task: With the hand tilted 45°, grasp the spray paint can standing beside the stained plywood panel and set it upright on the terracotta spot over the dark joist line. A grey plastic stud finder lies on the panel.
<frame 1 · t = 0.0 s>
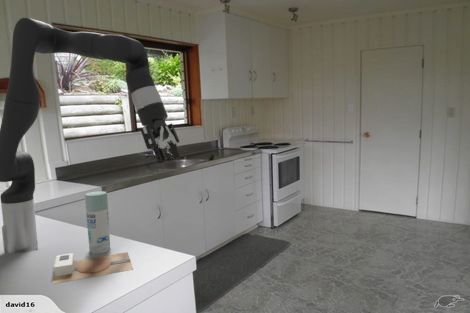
hand: (170, 160, 98), 31 cm above the worktop, tool tilted 20°, fingers open, 8 cm apart
spray paint can: (100, 254, 114), on the worktop
plywood panel: (94, 271, 102), on the worktop
stud finder: (64, 268, 100), point 1 cm above the worktop, touching plywood panel
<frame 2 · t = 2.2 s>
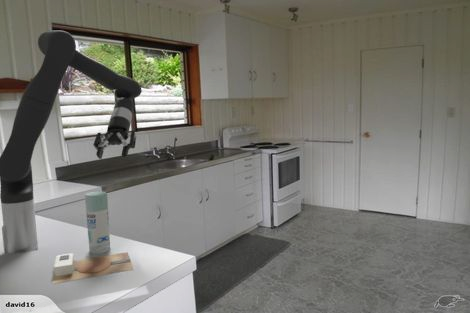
hand: (111, 157, 123), 30 cm above the worktop, tool tilted 45°, fingers open, 8 cm apart
nothing on the worktop moved.
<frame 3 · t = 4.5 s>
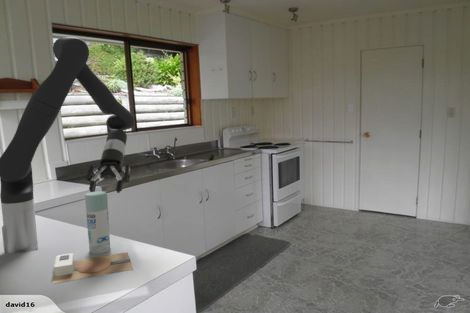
hand: (105, 192, 119), 19 cm above the worktop, tool tilted 45°, fingers open, 8 cm apart
nothing on the worktop moved.
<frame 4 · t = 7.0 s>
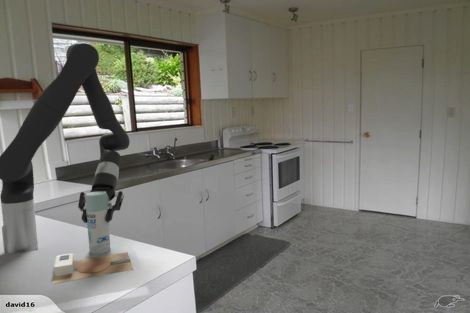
hand: (96, 221, 111), 11 cm above the worktop, tool tilted 45°, fingers closed on spray paint can, 6 cm apart
spray paint can: (100, 254, 114), on the worktop, touching gripper
everything else where it was.
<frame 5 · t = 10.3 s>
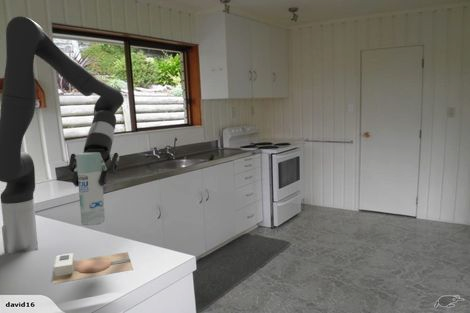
hand: (88, 184, 100), 25 cm above the worktop, tool tilted 45°, fingers closed on spray paint can, 6 cm apart
spray paint can: (93, 222, 103), point 14 cm above the worktop, touching gripper
everything else where it was.
when the fingers open (14 cm above the worktop, at t = 13.8 s): spray paint can drops 1 cm, resting on plywood panel.
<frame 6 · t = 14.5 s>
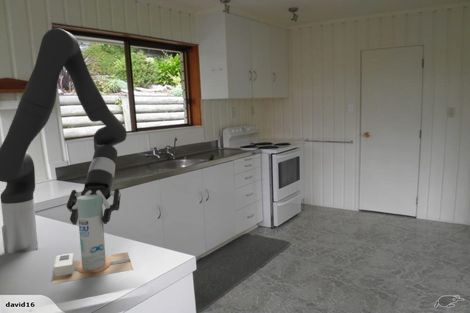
hand: (89, 223, 99), 15 cm above the worktop, tool tilted 45°, fingers open, 8 cm apart
spray paint can: (94, 266, 102), point 1 cm above the worktop, touching plywood panel
everything else where it was.
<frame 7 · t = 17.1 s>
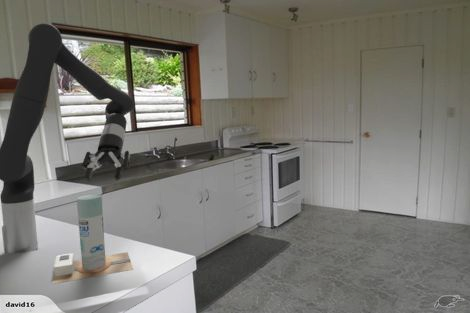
hand: (102, 179, 110), 25 cm above the worktop, tool tilted 45°, fingers open, 8 cm apart
nothing on the worktop moved.
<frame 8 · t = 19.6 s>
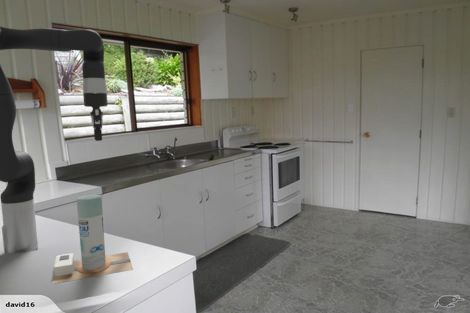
hand: (98, 139, 123), 36 cm above the worktop, tool pointing down, fingers open, 8 cm apart
nothing on the worktop moved.
at the end: spray paint can 0.2 cm from the plywood panel (horizontally); spray paint can tilted 0°; the gripper is holding nothing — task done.
